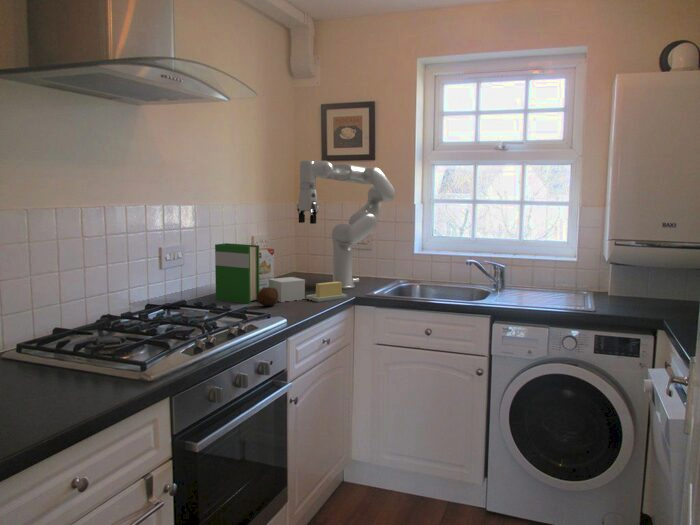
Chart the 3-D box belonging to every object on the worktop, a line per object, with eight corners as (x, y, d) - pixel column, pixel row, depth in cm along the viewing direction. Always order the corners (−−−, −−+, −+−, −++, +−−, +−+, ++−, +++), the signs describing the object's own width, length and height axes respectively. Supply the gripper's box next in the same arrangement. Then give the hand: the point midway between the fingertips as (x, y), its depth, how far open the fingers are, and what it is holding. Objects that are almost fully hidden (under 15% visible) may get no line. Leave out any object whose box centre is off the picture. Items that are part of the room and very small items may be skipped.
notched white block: (293, 295, 259) (293, 276, 257) (306, 299, 250) (306, 279, 249) (268, 298, 251) (268, 279, 250) (281, 302, 242) (281, 282, 241)
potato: (281, 305, 236) (281, 286, 235) (268, 309, 228) (268, 289, 227) (267, 303, 240) (267, 285, 239) (253, 307, 231) (253, 288, 230)
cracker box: (252, 296, 254) (252, 250, 252) (243, 295, 258) (242, 249, 255) (274, 293, 265) (274, 248, 263) (265, 291, 269) (265, 247, 266)
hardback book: (259, 300, 245) (259, 245, 243) (249, 303, 239) (248, 246, 236) (226, 296, 253) (226, 243, 250) (215, 299, 247) (215, 244, 244)
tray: (335, 295, 260) (335, 291, 260) (346, 298, 254) (347, 294, 253) (306, 299, 250) (306, 295, 250) (317, 302, 244) (317, 298, 244)
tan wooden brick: (337, 295, 257) (337, 281, 257) (341, 296, 255) (341, 282, 254) (315, 298, 250) (315, 283, 249) (319, 299, 248) (319, 284, 247)
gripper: (324, 187, 265) (324, 223, 267) (304, 187, 278) (303, 222, 280) (311, 186, 260) (311, 224, 262) (291, 186, 274) (290, 222, 276)
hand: (307, 223), depth 271 cm, fingers open, 9 cm apart
